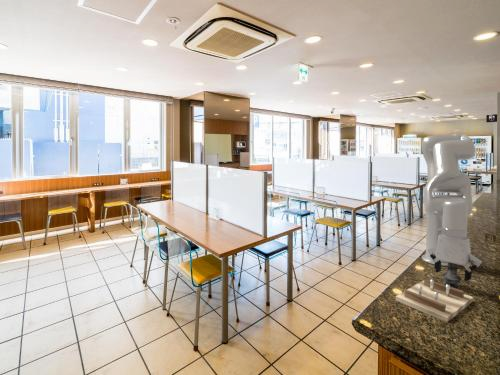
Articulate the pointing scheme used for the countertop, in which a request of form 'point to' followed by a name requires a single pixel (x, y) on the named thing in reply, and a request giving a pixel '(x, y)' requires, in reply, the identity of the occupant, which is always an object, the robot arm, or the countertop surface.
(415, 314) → the countertop surface
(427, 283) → the pin stand
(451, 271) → the weathered chess pawn
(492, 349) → the countertop surface
